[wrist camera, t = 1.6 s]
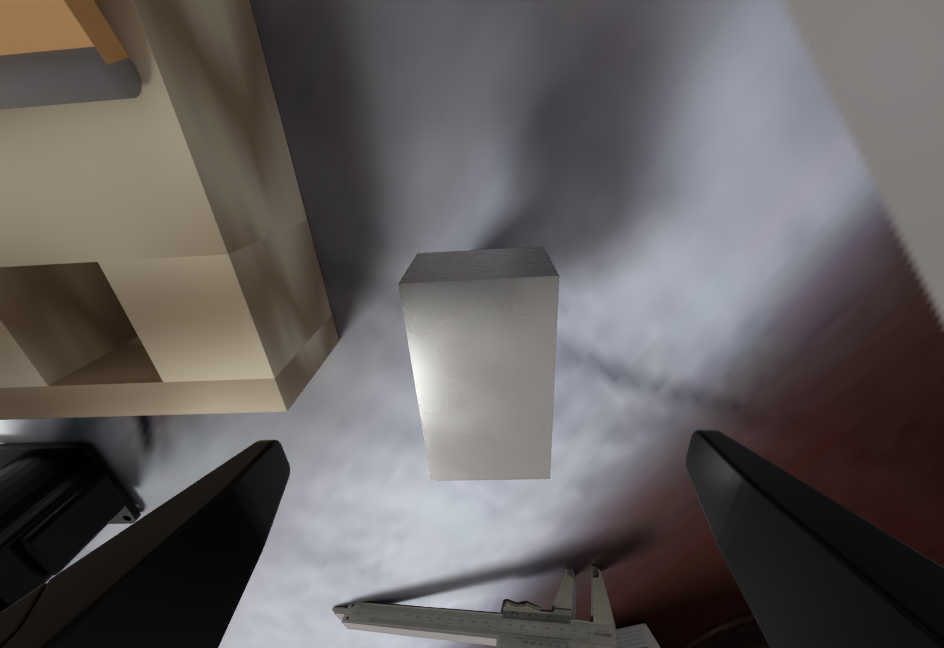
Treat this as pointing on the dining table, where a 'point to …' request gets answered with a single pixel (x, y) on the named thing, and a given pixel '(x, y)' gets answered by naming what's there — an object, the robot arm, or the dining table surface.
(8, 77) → the tan wooden plank
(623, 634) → the light bulb box
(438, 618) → the caliper
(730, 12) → the dining table surface
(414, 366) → the steel pin
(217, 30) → the hitch block
